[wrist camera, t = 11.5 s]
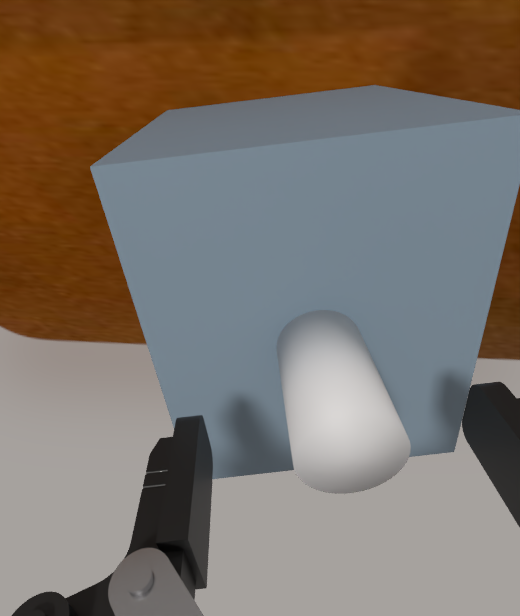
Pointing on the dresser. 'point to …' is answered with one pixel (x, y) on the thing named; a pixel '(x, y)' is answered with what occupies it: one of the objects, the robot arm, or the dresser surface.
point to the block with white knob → (316, 271)
